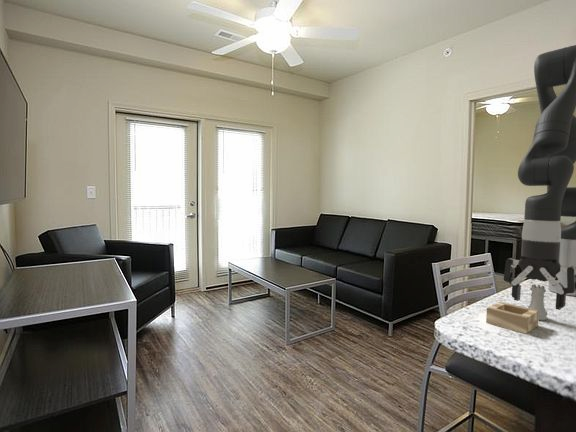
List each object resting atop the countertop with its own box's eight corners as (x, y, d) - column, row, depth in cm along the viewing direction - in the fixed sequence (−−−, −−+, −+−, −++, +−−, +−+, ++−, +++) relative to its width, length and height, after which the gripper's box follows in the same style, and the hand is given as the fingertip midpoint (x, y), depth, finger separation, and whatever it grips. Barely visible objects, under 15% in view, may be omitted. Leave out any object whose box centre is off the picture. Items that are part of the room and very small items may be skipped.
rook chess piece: (551, 321, 80) (553, 288, 80) (530, 320, 81) (532, 287, 81) (541, 315, 85) (543, 284, 84) (521, 313, 86) (523, 283, 85)
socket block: (499, 315, 84) (500, 301, 84) (538, 325, 78) (538, 310, 77) (486, 322, 79) (486, 307, 79) (525, 333, 73) (526, 317, 73)
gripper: (582, 241, 79) (578, 309, 79) (513, 235, 90) (509, 295, 91) (574, 243, 74) (569, 315, 75) (502, 236, 85) (498, 299, 86)
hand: (536, 304), depth 83 cm, fingers open, 8 cm apart
